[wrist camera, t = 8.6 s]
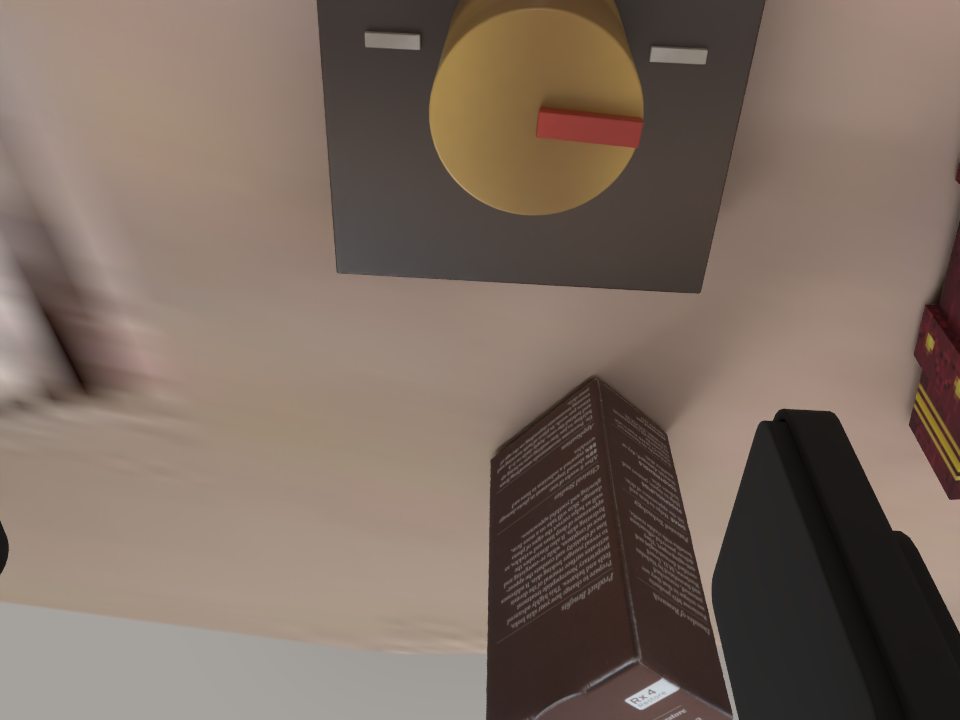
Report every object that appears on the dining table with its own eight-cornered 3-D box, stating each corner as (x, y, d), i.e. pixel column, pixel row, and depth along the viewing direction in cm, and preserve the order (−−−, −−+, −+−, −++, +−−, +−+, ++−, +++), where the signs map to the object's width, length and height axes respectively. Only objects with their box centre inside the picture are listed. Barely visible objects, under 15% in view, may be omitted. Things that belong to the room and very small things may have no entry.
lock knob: (442, 122, 23) (422, 211, 19) (454, -58, 20) (433, -2, 16) (606, 139, 23) (623, 232, 19) (639, -38, 20) (667, 23, 16)
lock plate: (686, 246, 28) (701, 297, 25) (353, 228, 28) (335, 276, 26) (795, -289, 20) (833, -292, 17) (321, -310, 20) (290, -316, 17)
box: (567, 512, 36) (581, 802, 26) (488, 455, 34) (470, 743, 24) (679, 434, 33) (742, 727, 23) (599, 368, 31) (629, 654, 21)
